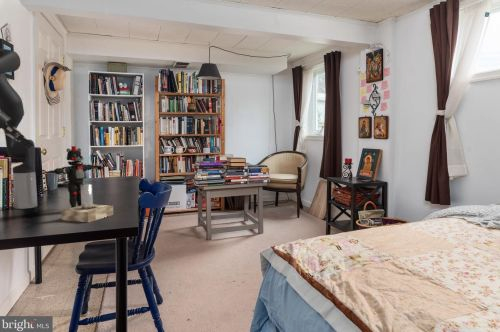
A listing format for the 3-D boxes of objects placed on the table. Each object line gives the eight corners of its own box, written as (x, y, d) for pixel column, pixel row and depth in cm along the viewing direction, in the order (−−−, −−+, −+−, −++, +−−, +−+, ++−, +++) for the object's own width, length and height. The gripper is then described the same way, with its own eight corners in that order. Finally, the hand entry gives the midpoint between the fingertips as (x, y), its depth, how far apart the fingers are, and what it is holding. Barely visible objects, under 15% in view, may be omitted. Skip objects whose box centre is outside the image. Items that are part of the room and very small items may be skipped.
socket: (61, 219, 141) (61, 210, 141) (88, 212, 154) (87, 204, 154) (88, 222, 136) (87, 212, 136) (113, 214, 149) (112, 205, 149)
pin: (79, 218, 144) (77, 185, 142) (87, 215, 148) (86, 183, 147) (87, 219, 142) (86, 185, 141) (95, 216, 146) (94, 184, 145)
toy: (58, 219, 142) (53, 147, 139) (43, 218, 144) (38, 147, 142) (107, 205, 171) (104, 145, 168) (94, 204, 173) (91, 145, 170)
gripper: (0, 108, 124) (39, 139, 132) (-1, 110, 135) (35, 139, 144) (-17, 123, 122) (24, 154, 130) (-17, 124, 133) (21, 152, 141)
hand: (30, 146), depth 137 cm, fingers open, 8 cm apart
